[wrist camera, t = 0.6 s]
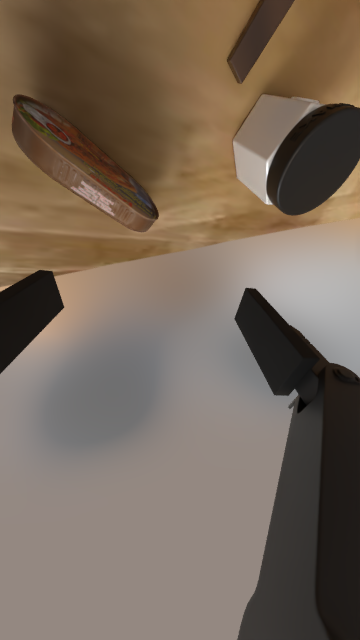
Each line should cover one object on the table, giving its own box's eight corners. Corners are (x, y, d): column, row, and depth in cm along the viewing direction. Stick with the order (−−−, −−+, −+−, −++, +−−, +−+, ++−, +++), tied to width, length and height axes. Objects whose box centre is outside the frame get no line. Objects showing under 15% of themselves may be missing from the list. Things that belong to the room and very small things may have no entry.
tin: (156, 199, 26) (164, 227, 22) (144, 216, 28) (150, 246, 23) (29, 86, 16) (-4, 93, 12) (23, 123, 18) (-8, 142, 13)
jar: (310, 99, 21) (399, 113, 14) (274, 181, 28) (324, 216, 21) (244, 87, 19) (313, 97, 13) (222, 178, 26) (260, 216, 19)
